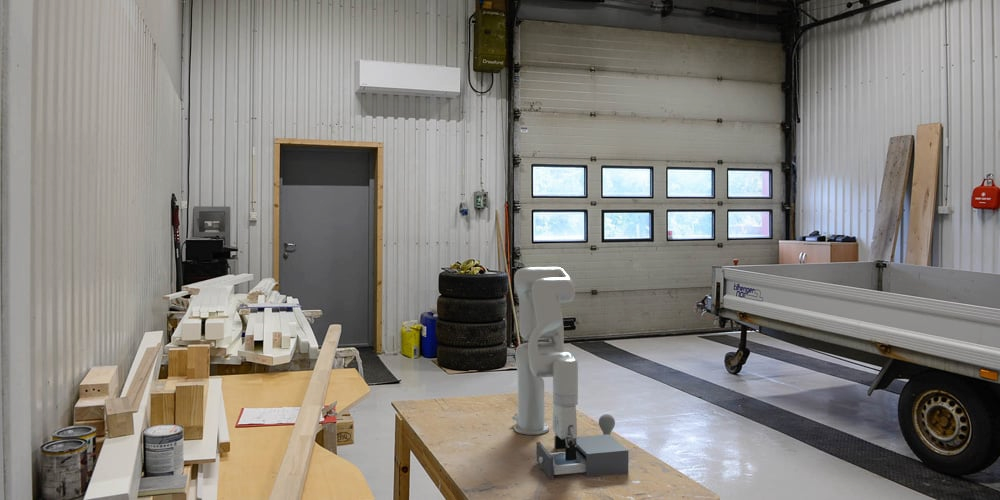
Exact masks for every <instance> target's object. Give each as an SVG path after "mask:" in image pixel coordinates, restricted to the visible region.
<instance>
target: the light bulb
mask: <svg viewBox="0 0 1000 500" xmlns="http://www.w3.org/2000/svg"><path fill="white" fill-rule="evenodd" d="M615 425H616V420H615V418H614V417H613V416H612V415H611V414H609V413H608V414H607V413H606V414H605V413H604V414H602V415H601V416H600V417H599V418H598V426H599V428H600V430H601V432H602V433H603V434H602V435H607V434H610V435H611V433H612V431H613V430H614V428H615Z"/></svg>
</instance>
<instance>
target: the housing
mask: <svg viewBox="0 0 1000 500" xmlns="http://www.w3.org/2000/svg"><path fill="white" fill-rule="evenodd" d="M576 441H577V443H576V451H578V452H579V453H580V454H581V455H582V457H583V458H584V459H585V460H586V472H582V474H584V475H585V477H586V478H594V477H604V476H607V477H608V476H614V475H615V476H616V475H625V474H629V449H628V448H627V447H625V446H624V445H623V444H622V443H621V442H619V441H618V440H617V439H616V438H614V437H613V436H612V435H611V433H610V434H607V435H603V434H597V435H596V434H595V435H584V436H577V439H576Z"/></svg>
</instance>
